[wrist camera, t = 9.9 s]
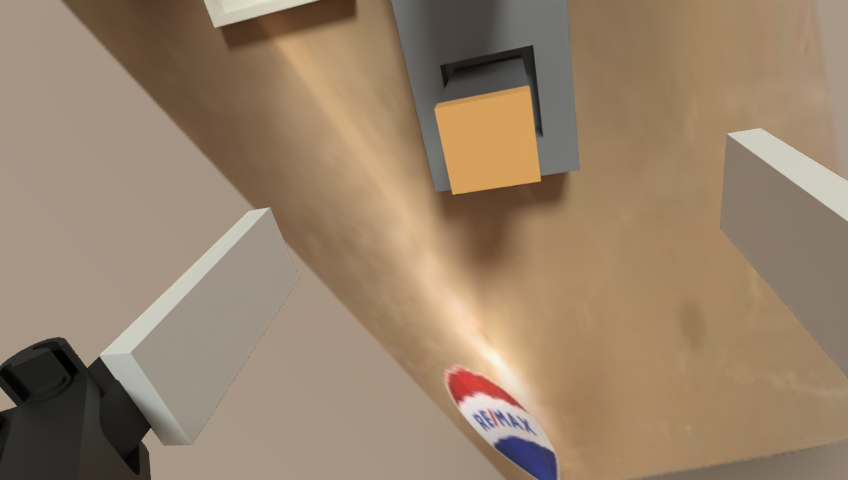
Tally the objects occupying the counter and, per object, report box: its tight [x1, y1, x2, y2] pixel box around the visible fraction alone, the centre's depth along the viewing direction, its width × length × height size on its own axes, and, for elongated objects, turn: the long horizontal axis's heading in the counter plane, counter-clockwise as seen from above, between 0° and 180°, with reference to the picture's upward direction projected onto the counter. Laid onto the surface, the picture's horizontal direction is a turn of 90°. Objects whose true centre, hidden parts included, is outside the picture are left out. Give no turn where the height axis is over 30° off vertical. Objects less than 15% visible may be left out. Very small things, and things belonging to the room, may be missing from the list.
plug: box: [434, 55, 541, 195], centre depth 25 cm, size 4×4×10 cm
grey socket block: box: [391, 0, 580, 192], centre depth 27 cm, size 20×9×4 cm, turn 13°
